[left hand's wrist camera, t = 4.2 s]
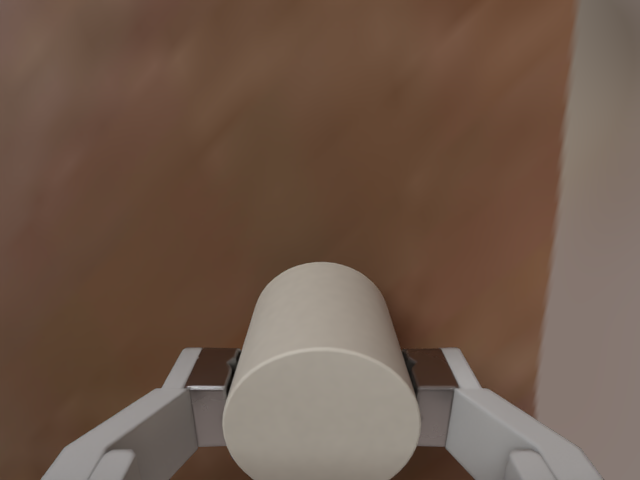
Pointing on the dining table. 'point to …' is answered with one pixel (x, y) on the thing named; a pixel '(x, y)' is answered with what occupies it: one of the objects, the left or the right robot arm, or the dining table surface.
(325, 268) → the canister
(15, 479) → the dining table surface
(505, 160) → the dining table surface
